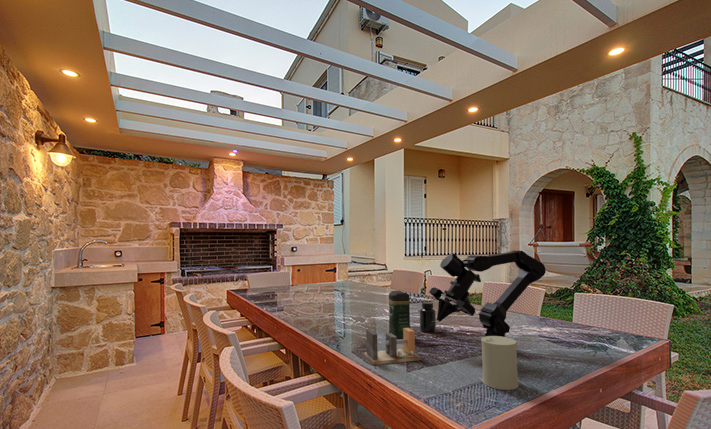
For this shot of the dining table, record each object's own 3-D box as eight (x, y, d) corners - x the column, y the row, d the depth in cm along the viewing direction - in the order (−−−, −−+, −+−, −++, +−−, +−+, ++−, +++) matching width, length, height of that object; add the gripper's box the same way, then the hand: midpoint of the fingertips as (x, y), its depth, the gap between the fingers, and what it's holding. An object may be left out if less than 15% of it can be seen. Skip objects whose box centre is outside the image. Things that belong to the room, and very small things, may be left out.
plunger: (408, 349, 123) (408, 327, 124) (418, 356, 116) (417, 333, 116) (384, 351, 121) (384, 329, 121) (392, 358, 113) (392, 335, 114)
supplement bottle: (436, 333, 150) (435, 304, 151) (419, 332, 152) (419, 304, 153) (435, 329, 157) (435, 301, 158) (420, 328, 158) (419, 301, 159)
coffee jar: (413, 339, 141) (412, 292, 143) (394, 340, 139) (393, 292, 141) (404, 333, 151) (403, 289, 152) (386, 334, 149) (386, 289, 150)
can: (476, 377, 101) (475, 334, 102) (507, 376, 102) (505, 333, 103) (491, 390, 92) (490, 343, 93) (525, 389, 93) (523, 342, 93)
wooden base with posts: (408, 351, 126) (408, 325, 126) (420, 360, 116) (420, 332, 117) (364, 355, 121) (364, 328, 122) (373, 364, 112) (372, 335, 112)
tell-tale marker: (399, 355, 116) (399, 350, 116) (402, 356, 114) (401, 352, 115) (397, 355, 116) (397, 350, 116) (399, 357, 114) (399, 352, 114)
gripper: (493, 304, 122) (470, 342, 119) (456, 289, 139) (434, 322, 135) (476, 286, 118) (451, 326, 114) (440, 273, 135) (417, 307, 131)
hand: (438, 320), depth 124 cm, fingers closed
